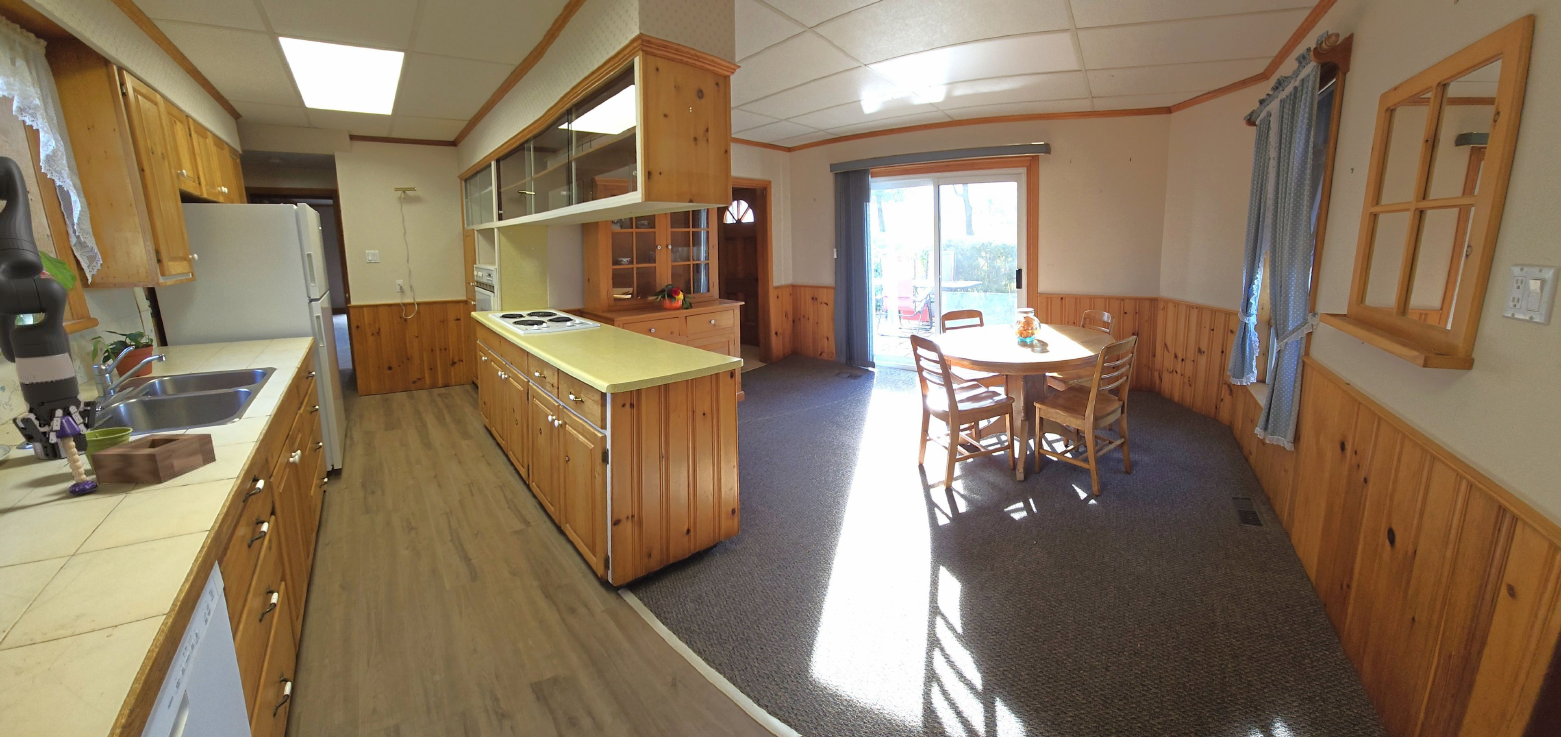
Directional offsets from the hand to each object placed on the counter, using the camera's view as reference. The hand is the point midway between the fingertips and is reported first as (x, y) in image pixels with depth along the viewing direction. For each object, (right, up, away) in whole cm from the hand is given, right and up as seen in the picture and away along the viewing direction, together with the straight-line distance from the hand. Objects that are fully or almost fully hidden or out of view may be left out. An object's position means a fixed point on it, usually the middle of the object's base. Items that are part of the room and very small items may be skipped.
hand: (67, 454), depth 130 cm
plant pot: (-9, -6, +17) cm, 20 cm away
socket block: (+5, -6, +15) cm, 16 cm away
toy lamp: (0, -8, +2) cm, 9 cm away
